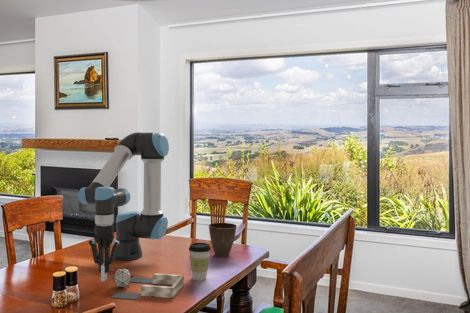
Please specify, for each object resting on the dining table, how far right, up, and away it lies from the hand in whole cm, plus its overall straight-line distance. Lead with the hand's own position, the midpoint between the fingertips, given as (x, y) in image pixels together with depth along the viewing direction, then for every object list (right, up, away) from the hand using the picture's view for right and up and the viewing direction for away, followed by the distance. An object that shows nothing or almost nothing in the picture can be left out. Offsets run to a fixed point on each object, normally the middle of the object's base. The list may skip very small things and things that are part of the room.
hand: (104, 280), depth 175 cm
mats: (+13, -3, -2) cm, 14 cm away
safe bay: (+25, -3, -3) cm, 25 cm away
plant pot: (+48, -1, +50) cm, 69 cm away
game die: (+8, -3, -1) cm, 8 cm away
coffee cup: (+39, -3, +12) cm, 41 cm away
